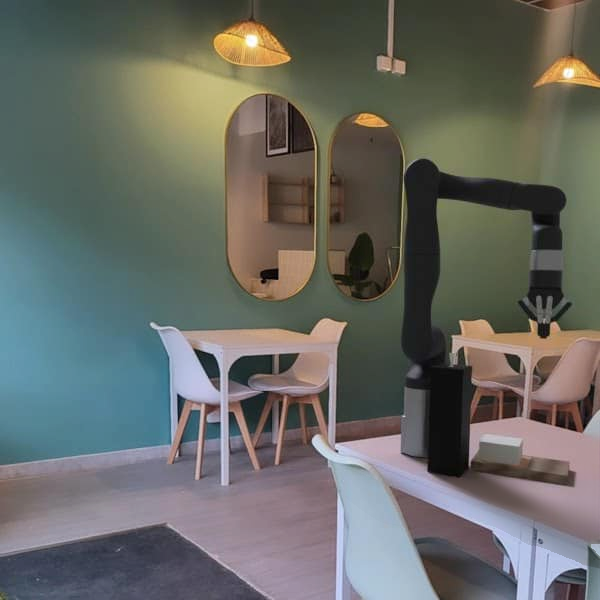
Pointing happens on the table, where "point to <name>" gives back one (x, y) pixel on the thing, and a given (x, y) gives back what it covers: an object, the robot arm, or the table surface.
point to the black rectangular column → (449, 418)
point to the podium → (527, 468)
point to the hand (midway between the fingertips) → (543, 338)
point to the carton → (501, 449)
